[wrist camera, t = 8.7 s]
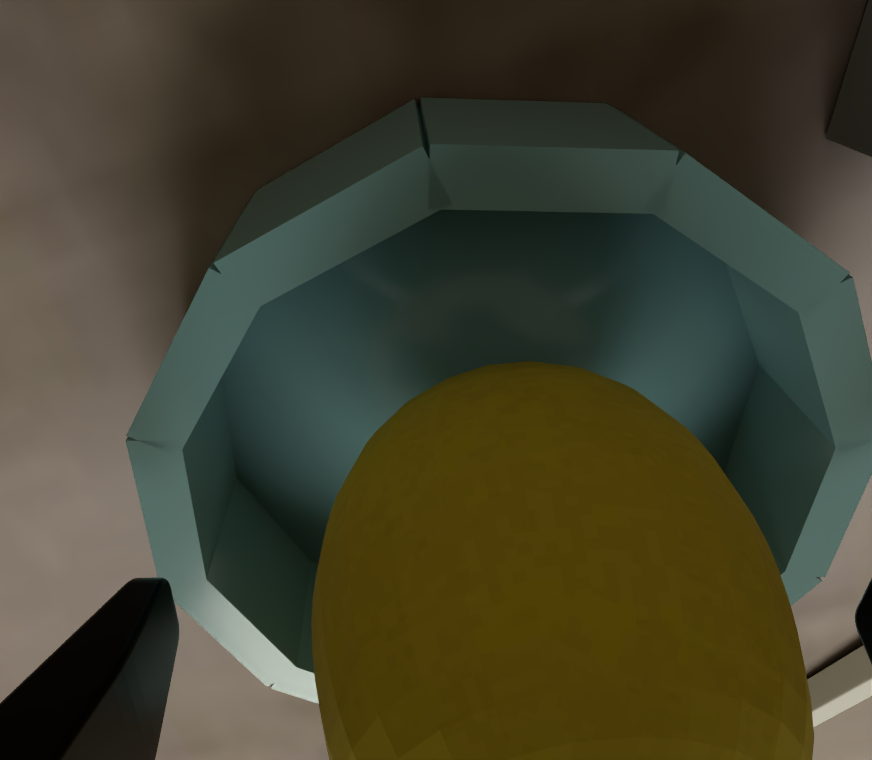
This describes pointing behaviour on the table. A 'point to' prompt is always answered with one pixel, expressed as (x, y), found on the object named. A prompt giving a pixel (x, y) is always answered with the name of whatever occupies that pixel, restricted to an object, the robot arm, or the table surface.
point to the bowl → (485, 341)
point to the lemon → (550, 586)
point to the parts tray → (856, 95)
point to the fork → (840, 685)
